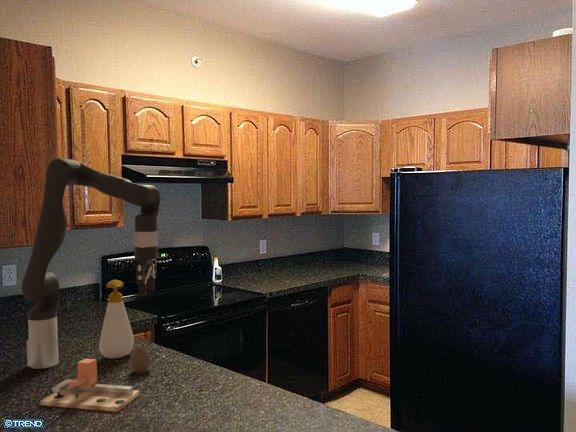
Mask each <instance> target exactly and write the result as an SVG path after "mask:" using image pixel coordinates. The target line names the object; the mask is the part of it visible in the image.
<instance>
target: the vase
mask: <svg viewBox="0 0 576 432" xmlns="http://www.w3.org/2000/svg"><path fill="white" fill-rule="evenodd" d="M129 364H130V365H129V366H130V369H131V371H132V372H134V373H135V374H145V373H146V372H147V371H148V370H150V367H151V365H152V356H151V355H150V352H149V351H148V350H147V349H146V347H145V345H142V344H141V345H137V346H136V347H135V349H134V351H133V352H132V354H131V356H130V360H129Z"/></svg>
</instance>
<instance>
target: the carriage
mask: <svg viewBox="0 0 576 432" xmlns="http://www.w3.org/2000/svg"><path fill="white" fill-rule="evenodd" d="M97 363H98V362H97V358H83V359H82V360H79V361H78V362H77V377H75V378H74V379H71V380H72V381H71V382H70V386H75V398H77V397H78V386H79V385H80V386H91V385H93V384H97V383H98V371H97V367H98V366H97Z"/></svg>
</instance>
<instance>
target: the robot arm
mask: <svg viewBox="0 0 576 432" xmlns="http://www.w3.org/2000/svg"><path fill="white" fill-rule="evenodd" d="M68 186H83V187H89V188H93V189H95V190H97V191H98V192H100V193H102V194H104V195H107V196H110V197H113V198H115V199H119V200H123V201H125V202H127V203H129V204H131V205H133V206H137V207H140V211H139V213H138V214H136V215H135V218H134V237H133V239H134V241H133V242H134V243H133V245H134V247H133V248H134V259H135V260H136V261H139V264H136V265H135V284H137V285H138V295H139V296H140V297H145V296H147V291H154V290H155V279H156V277H157V276H158V273H157V259H158V258H159V244H158V243H159V241H158V239H159V237H158V232H157V231H158V221H157V218H158V214H159V209H160V204H161V195H160V191H159V189H158V188H157V187H156V186H154V185H153V184H138V183H134V182H133V181H131V180H129V179H128V178H124V177H120V176H117V175H113V174H110V173H105V172H101V171H99V170H96V169H94V168H92V167H90V166H88V165H85V164H83V163H81V162H80V161H77V160H75V159H70V158H60V157H59V158H58V157H57V158H54V159H52V160H51V161H50V162H49V164H48V165H47V168H46V172H45V180H44V188H43V189H44V190H43V191H44V192H43V196H42V197H43V199H42V203H41V208H40V209H41V210H40V214H39V218H38V221H37V225H36V230H35V236H34V240H33V241H34V242H33V244H32V245H33V246H32V250H31V254H30V258H29V261H28V265H27V267H26V270H25V272H24V276H23V279H22V283H21V293H22V295H23V297H24V298H25V300H27V301H29V302H35V304H34V306H32V308H30V309H29V310H28V312H27V319H28V322H27V323H28V339H27V340H26V359H27V360H26V361H27V367H29V368H31V369H33V370H34V369H35V370H40V369H47V368H52V367H55V366H56V365H58V364H59V340H58V339H59V338H58V334H59V333H58V310H59V306H60V282H59V279H58V277H57V275H56V274H55V273H53V272H52V271H47V270H48V267H49V265H50V263H51V261H52V260H53V258H54V257H55V255H56V254H57V252H59V250H60V248H61V246H62V245H63V244H64V241H65V236H66V234H67V228H68V218H67V214H66V211H65V210H66V209H65V207H64V202H63V201H64V195H65V191H66V188H67V187H68Z"/></svg>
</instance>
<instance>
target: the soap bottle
mask: <svg viewBox="0 0 576 432" xmlns="http://www.w3.org/2000/svg"><path fill="white" fill-rule="evenodd" d="M123 287H124V283H123V281H121V280H118V279H112V280H110V281H109V282H107V284H106V288H110V289H112V290H113V291H112V292H111V293H110V294H108V302H107V306H106V311H105V314H104V319H103V324H102V328H101V333H100V337H99V338H100V339H99V342H98V350H99V351H100V354H101V355H102V356H103V357H104V358H106V359H111V360H112V359H120V358H124V357H126V356H127V355H129V354H130V353H131V351H132V350H133V348H134V345H135V337H134V334H133V330H132V327H131V326H132V325H131V324H130V320H129V317H128V313H127V310H126V307H125V303H124V301H123V294H122V293H121V292H118V290H119V289H122V288H123Z"/></svg>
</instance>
